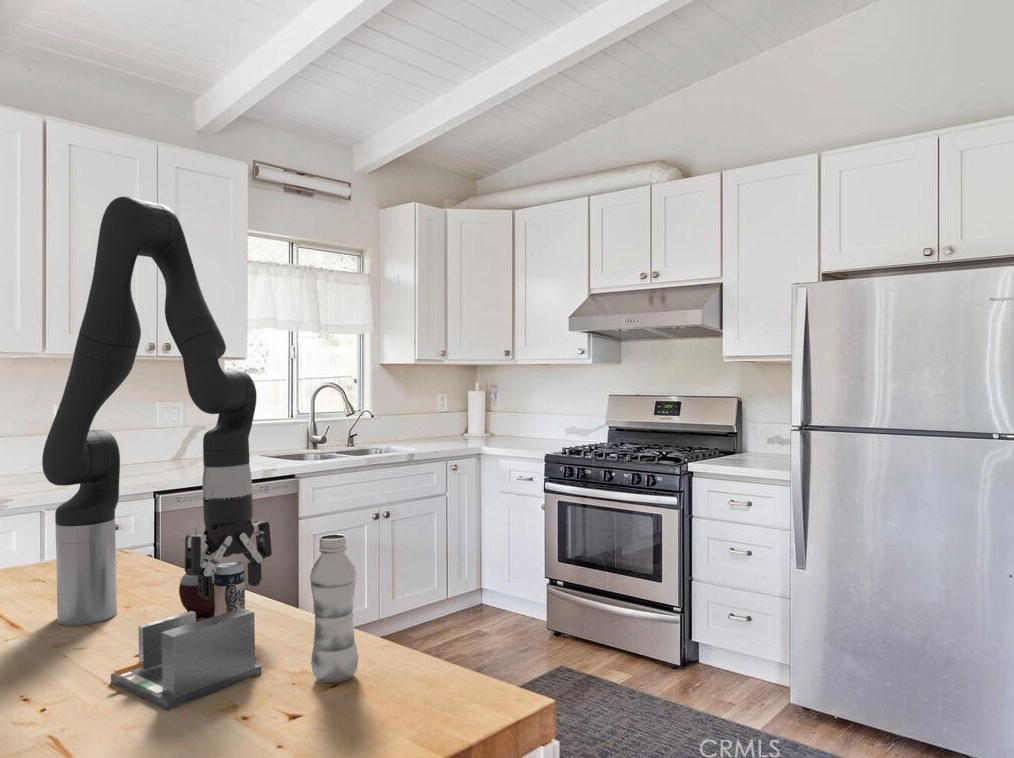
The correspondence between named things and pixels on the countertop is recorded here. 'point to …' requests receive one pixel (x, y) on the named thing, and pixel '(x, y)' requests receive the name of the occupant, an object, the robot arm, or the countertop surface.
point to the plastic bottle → (333, 612)
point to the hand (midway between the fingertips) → (230, 591)
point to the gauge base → (197, 661)
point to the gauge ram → (155, 640)
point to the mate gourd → (196, 595)
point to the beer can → (229, 587)
